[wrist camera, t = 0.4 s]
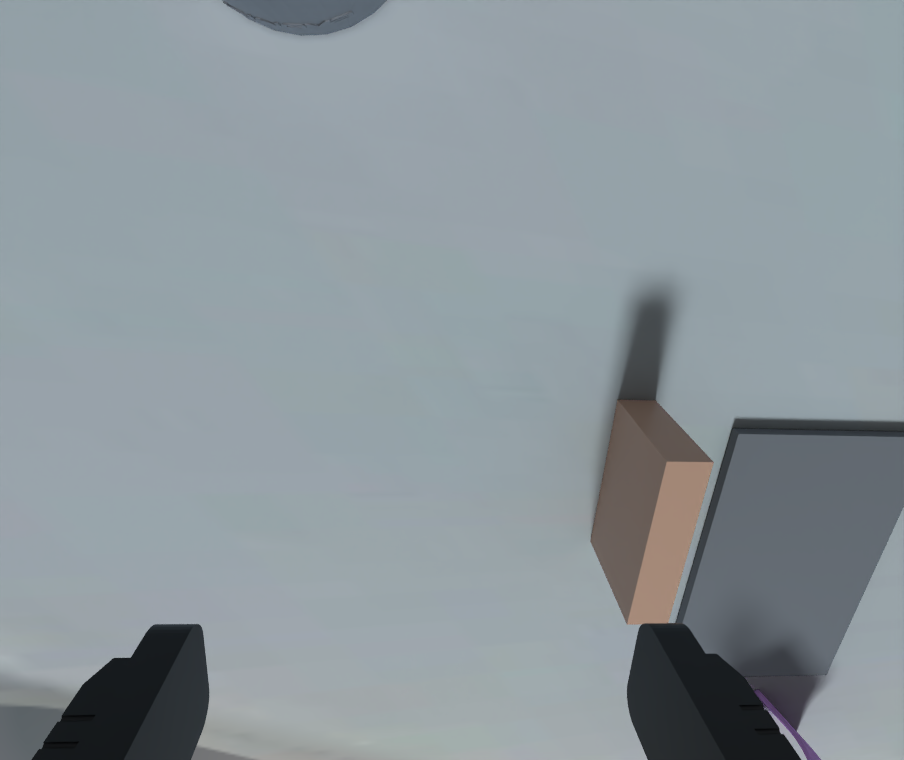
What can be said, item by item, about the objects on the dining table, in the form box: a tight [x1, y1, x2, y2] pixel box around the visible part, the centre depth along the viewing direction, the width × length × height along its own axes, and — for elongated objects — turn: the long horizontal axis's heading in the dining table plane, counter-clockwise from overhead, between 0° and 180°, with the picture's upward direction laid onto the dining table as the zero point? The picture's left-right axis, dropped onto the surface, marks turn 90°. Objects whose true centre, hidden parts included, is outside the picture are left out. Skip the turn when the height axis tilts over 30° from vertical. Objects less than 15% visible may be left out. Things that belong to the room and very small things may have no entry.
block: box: [591, 400, 714, 624], centre depth 27 cm, size 9×2×6 cm, turn 177°
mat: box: [676, 428, 904, 677], centre depth 32 cm, size 18×11×1 cm, turn 177°
